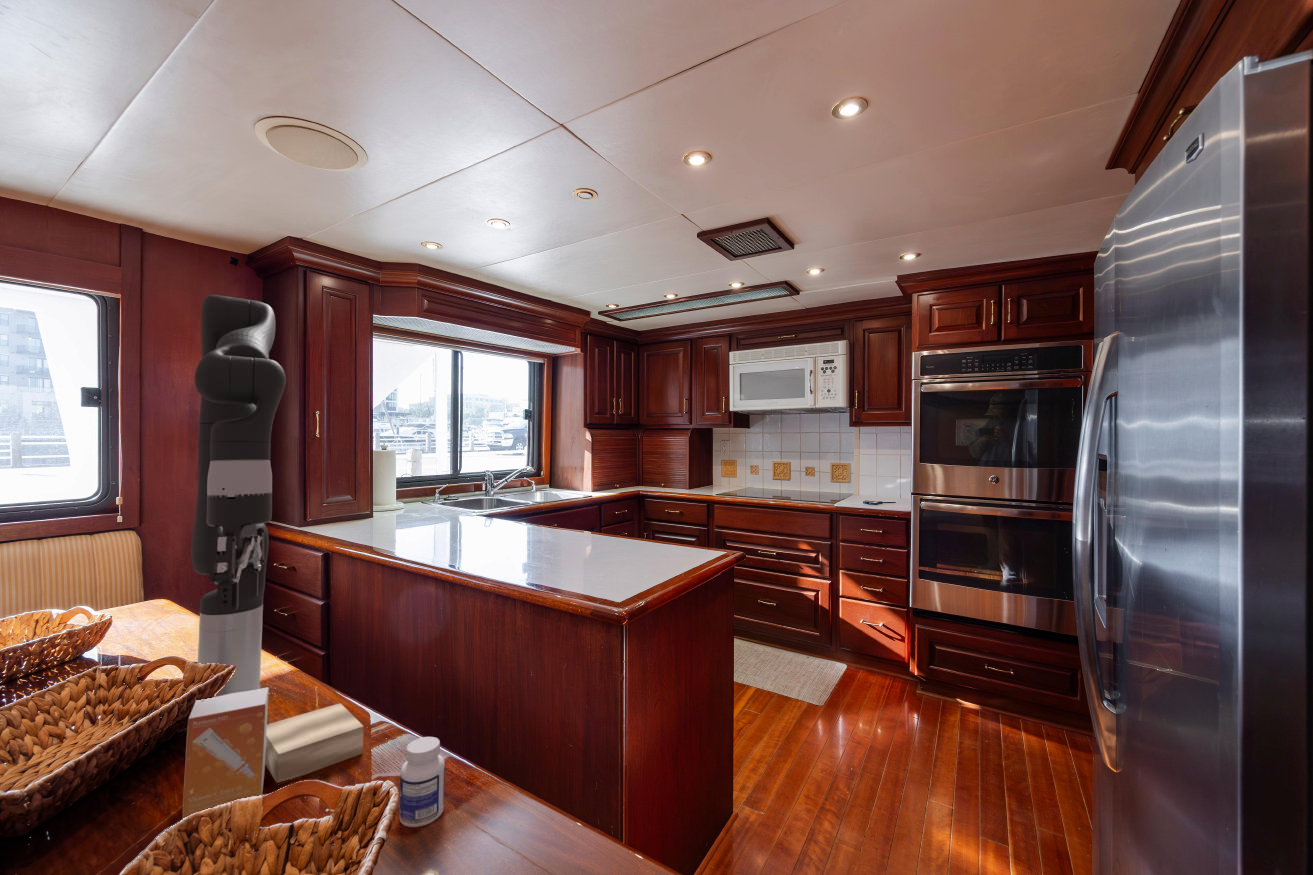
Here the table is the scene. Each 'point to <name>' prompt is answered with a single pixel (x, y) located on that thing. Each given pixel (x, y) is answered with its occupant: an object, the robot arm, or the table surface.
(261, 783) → the small box
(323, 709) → the birch block
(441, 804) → the pill bottle
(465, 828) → the table surface
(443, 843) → the table surface
